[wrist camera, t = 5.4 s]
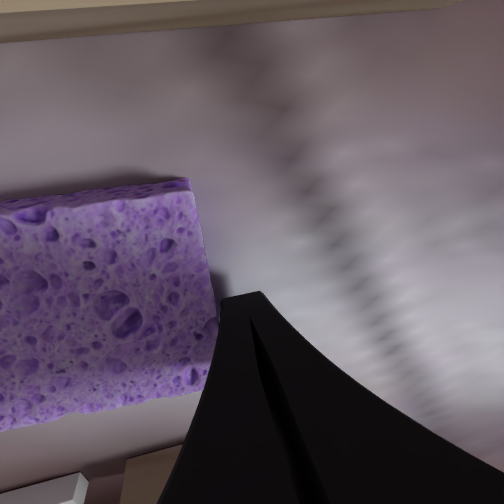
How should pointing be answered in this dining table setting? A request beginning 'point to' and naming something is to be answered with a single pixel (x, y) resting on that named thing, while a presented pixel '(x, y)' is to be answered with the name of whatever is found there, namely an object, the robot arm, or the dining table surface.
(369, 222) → the dining table surface
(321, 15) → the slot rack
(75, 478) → the frame
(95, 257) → the sponges
